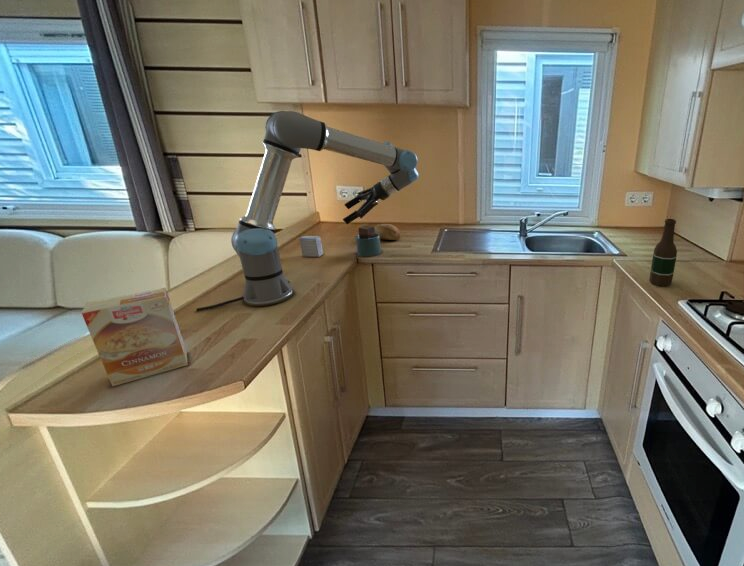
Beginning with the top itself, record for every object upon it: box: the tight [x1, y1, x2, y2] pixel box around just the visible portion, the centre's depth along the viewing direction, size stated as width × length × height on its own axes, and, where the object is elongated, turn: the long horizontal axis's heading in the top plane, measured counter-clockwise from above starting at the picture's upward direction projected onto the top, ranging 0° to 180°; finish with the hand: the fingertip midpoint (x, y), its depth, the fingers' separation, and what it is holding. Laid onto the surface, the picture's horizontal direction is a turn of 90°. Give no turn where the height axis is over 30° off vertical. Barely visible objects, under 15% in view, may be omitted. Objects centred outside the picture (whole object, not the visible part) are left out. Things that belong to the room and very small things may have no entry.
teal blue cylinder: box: [354, 233, 382, 258], centre depth 185 cm, size 11×11×8 cm
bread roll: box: [374, 223, 402, 241], centre depth 206 cm, size 10×15×8 cm, turn 72°
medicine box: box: [298, 235, 324, 258], centre depth 182 cm, size 8×4×9 cm, turn 84°
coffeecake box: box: [81, 287, 188, 387], centre depth 98 cm, size 15×7×20 cm, turn 126°
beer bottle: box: [649, 218, 678, 288], centre depth 146 cm, size 8×8×24 cm
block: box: [357, 225, 375, 239], centre depth 183 cm, size 5×5×5 cm
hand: (345, 214), depth 177 cm, fingers open, 13 cm apart
